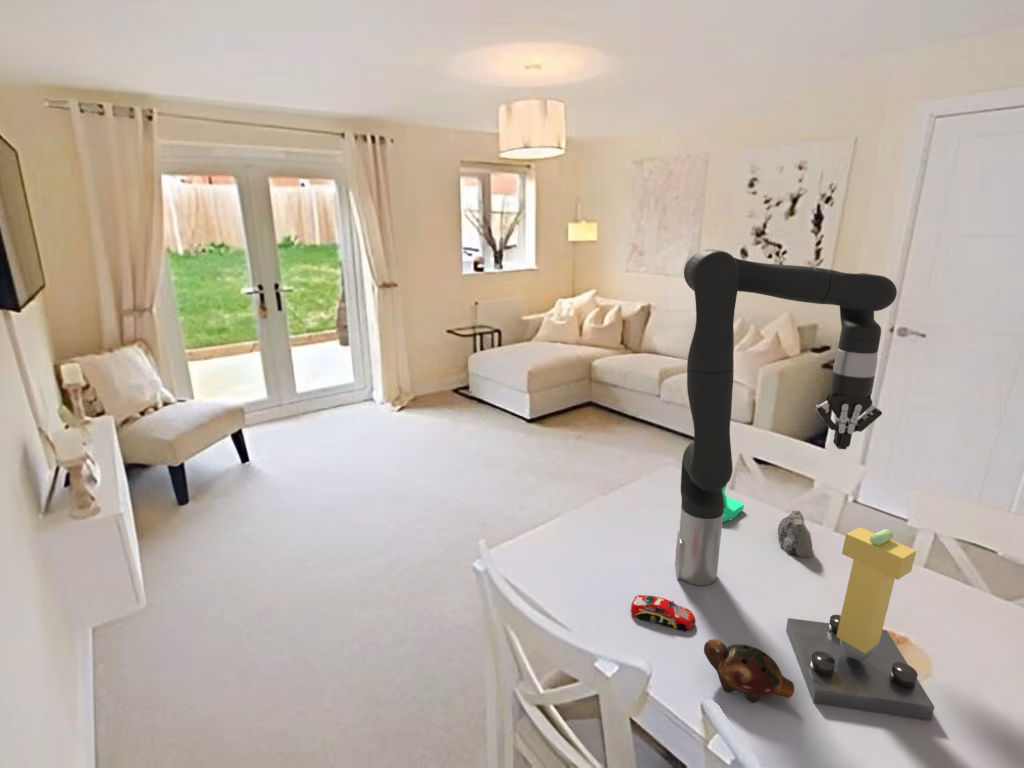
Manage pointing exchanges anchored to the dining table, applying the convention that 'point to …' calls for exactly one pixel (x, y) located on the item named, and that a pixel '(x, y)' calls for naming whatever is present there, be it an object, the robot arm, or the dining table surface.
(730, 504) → the camera mount
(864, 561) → the yellow t-shaped post
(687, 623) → the race car
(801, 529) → the mineral rock
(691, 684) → the dining table surface
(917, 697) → the dark grey base plate
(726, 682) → the decorative turtle
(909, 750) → the dining table surface
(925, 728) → the dining table surface
